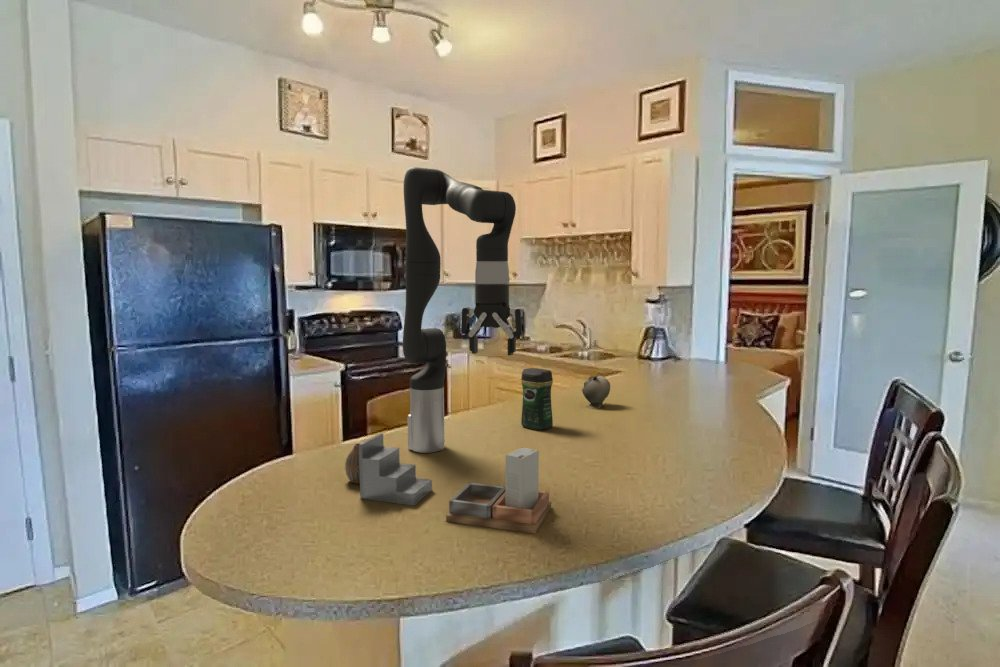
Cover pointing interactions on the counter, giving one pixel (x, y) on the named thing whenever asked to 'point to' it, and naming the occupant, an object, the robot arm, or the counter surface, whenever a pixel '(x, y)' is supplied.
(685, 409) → the counter surface
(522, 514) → the divided tray
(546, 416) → the coffee jar
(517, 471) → the skincare box
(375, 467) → the gray stair step block
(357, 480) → the vase
